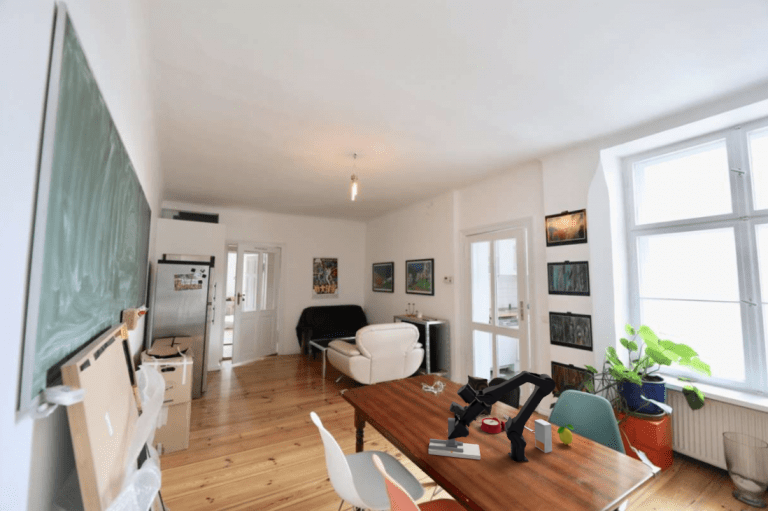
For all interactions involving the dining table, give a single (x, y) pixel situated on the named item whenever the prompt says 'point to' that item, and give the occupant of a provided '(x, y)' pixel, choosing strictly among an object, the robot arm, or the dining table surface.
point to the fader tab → (450, 428)
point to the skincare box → (543, 435)
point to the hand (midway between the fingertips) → (448, 434)
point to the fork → (524, 426)
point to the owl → (479, 388)
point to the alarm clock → (492, 425)
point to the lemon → (565, 434)
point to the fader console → (454, 449)
